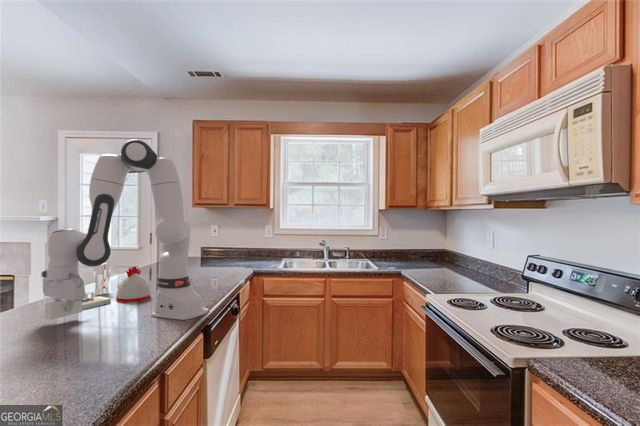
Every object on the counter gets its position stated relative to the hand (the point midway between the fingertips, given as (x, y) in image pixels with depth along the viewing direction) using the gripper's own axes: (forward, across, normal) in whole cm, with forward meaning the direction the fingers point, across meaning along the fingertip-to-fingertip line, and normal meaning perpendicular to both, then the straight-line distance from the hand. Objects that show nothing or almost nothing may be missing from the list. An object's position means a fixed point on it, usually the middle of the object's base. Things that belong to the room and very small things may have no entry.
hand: (64, 310), depth 123 cm
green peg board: (+4, +15, -16) cm, 22 cm away
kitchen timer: (+5, +9, -34) cm, 36 cm away
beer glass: (+4, +30, -32) cm, 45 cm away
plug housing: (+2, 0, -2) cm, 3 cm away
